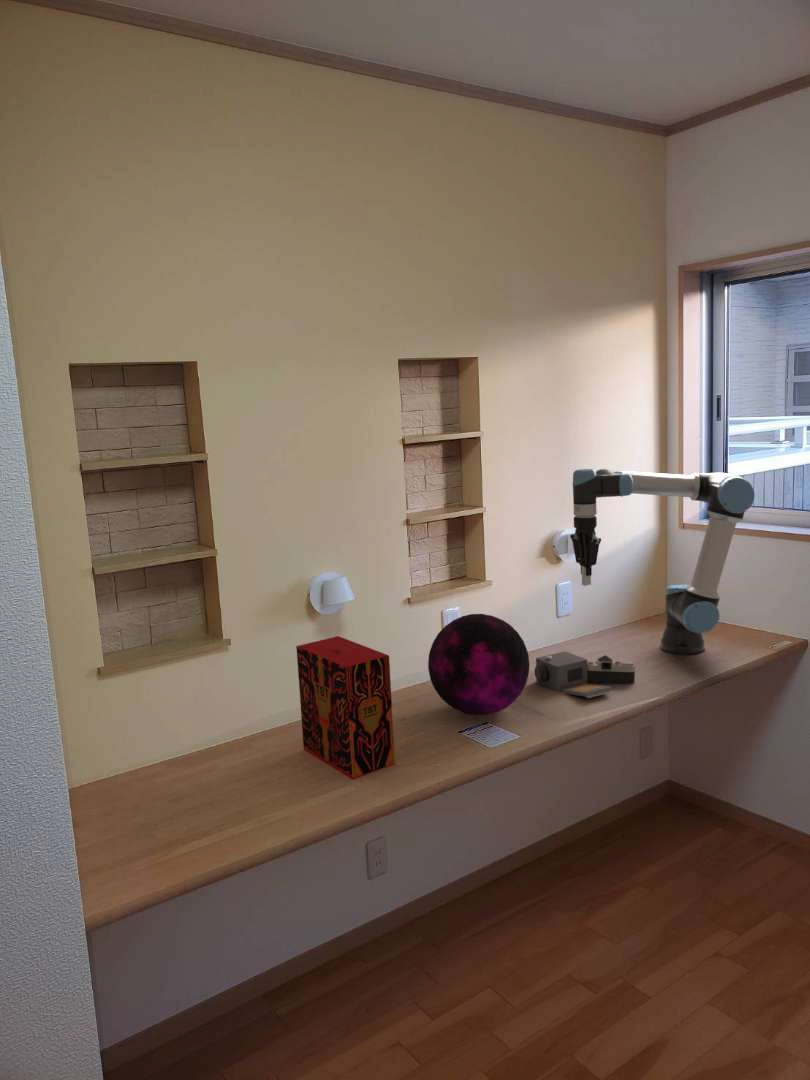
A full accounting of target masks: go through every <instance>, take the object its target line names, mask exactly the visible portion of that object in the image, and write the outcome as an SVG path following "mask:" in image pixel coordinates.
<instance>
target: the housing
mask: <svg viewBox="0 0 810 1080" xmlns="http://www.w3.org/2000/svg"><path fill="white" fill-rule="evenodd" d="M587 663H588V659H586V658H584V657H581V656H579V655H576V654H575V653H574V654H573V653H571V652H569V651H560V652H557V653H552V654H547V655H543V656H540V657H536V658H535V665H536V666H535V668H534V676H535V679H536V683H538V684H541V685H543V686H545V687H547V688H550V689H551V690H553V691H556V692H562V691H561V689H565V688H569V687H573V686H577V685H581V684H585V683H587Z"/></svg>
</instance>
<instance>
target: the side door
mask: <svg viewBox="0 0 810 1080" xmlns="http://www.w3.org/2000/svg"><path fill="white" fill-rule="evenodd" d="M612 690H613V689H612V686H611V685H610V686H609V685H603V684H587V683H585V684H581V685H577V686H573V687H569V688H565V689H561V691H560V692H561V693H564V694H567V695H573V696H580V697H585V698H586V699H591V698H594V697H598V696H601V695H606V694H609V693H610V691H612Z"/></svg>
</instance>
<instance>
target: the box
mask: <svg viewBox="0 0 810 1080" xmlns="http://www.w3.org/2000/svg"><path fill="white" fill-rule="evenodd" d="M295 648H296V660H297V672H298V673H297V674H298V676H297V677H298V686H299V688H298V689H299V701H300V715H301V716H300V717H301V718H300V719H301V729H302V730H301V731H302V740H303V741H302V744H303V745H302V746H303V751H305V752H306V753H308V754H310V755H312V756H313V757H314V758H316V759H318V760H319V761H321V762H322V763H325V764H326V765H328V766H329V767H330V768H332V769H334V770H336V771H338V772H339V773H341V774H342V775H344V776H346V777H347V778H349V779H350V780H356V779H359V778H361V777H364V776H367V775H370V774H372V773H375V772H377V771H381V770H384V769H387V768H389V767H392V766H394V765H396V763H395V762H396V761H395V743H394V741H395V740H394V724H393V723H394V721H393V705H392V702H393V701H392V686H391V685H392V683H391V682H392V681H391V668H390V667H391V665H390V664H391V663H390V655H388V654H386V653H384V652H380V651H379V650H375V649H374V648H370V647H368V646H365V645H363V644H360V643H358V642H355V641H352V640H350V639H347V638H344V637H341V636H339V635H336V636H333V637H328V638H324V639H320V640H317V641H312V642H307V643H305V644H304V643H303V644H300V645H296V647H295Z"/></svg>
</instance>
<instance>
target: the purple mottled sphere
mask: <svg viewBox="0 0 810 1080" xmlns="http://www.w3.org/2000/svg"><path fill="white" fill-rule="evenodd" d="M430 646H431V647H430V649H429V651H428V652H429V653H428V663H427V669H428V675H429V679H430V681H431V684H432V687H433V689H434V690H435V692H436V693H437V695H438V696H439V698H440V699H442V701H443V702H444V703H446V705H448V706H449V707H450V708H452V709H454V710H455V711H457V712H460V713H463V714H465V715H471V716H488V715H494V714H497V713H498V712H499V713H500V712H501V711H503V710H505V709H507V708H508V707H509V706H511V705H512V704H513V703H515V701H516V700H517V699H518V697H520V695H522V692H523V690H524V689H525V687H526V685H527V682H528V678H529V673H530V658H529V653H528V652H529V651H528V649H527V646H526V644H525V641H524V639H523V638H522V637H521V635H520V633H519V632H518V631H517V630H516V629H515V628H514V627H513V626H512V625H511V624H509V623H508V622H506V621H505V620H504V619H501V618H498V617H496V616H493V615H490V614H485V613H471V614H465V615H462V616H460V617H457V618H456V619H453V620H452V621H451V622H449V623H448V624H446V625H445V626H444V627H443V628H442V629H441V630H440V631H439V632H438V634H437V635H436V637H435V638H434V640H433V642H432V645H430Z"/></svg>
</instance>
